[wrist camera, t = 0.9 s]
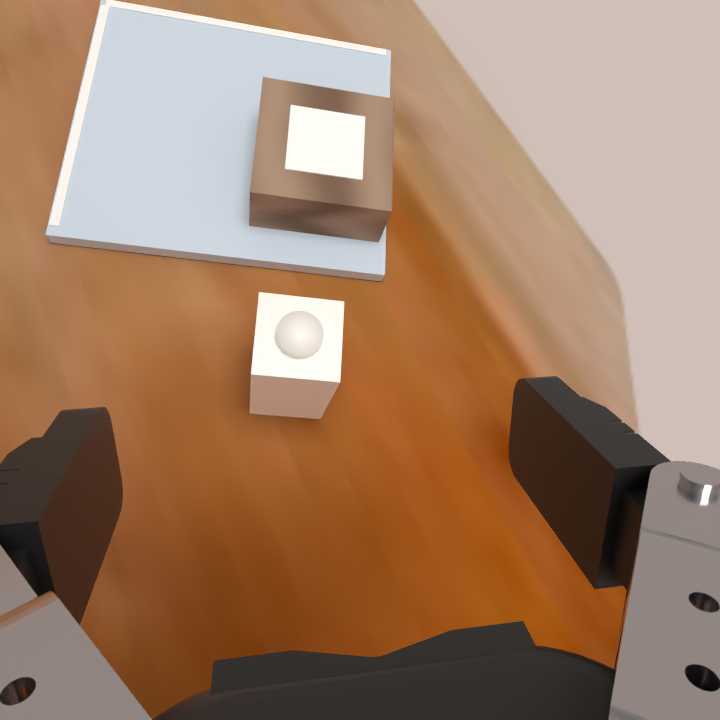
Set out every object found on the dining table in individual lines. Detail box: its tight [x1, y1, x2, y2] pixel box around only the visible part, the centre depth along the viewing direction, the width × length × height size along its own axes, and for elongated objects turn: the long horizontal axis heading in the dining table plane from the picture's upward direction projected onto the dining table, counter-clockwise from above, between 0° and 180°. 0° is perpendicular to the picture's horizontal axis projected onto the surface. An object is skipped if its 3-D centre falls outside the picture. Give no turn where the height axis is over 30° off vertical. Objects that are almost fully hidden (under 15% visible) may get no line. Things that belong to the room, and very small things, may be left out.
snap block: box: [249, 292, 344, 419], centre depth 35 cm, size 4×4×9 cm
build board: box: [46, 0, 394, 281], centre depth 42 cm, size 22×20×5 cm
